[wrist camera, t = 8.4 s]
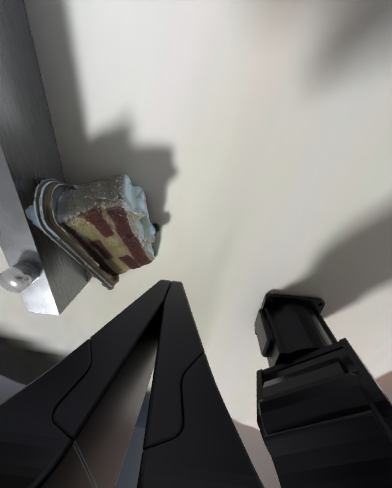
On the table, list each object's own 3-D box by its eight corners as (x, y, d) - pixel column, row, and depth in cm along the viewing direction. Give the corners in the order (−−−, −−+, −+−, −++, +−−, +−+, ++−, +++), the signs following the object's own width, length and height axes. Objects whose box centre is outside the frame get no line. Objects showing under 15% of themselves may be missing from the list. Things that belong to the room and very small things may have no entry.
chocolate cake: (175, 272, 23) (151, 232, 11) (115, 292, 22) (26, 272, 11) (154, 203, 26) (118, 118, 14) (100, 220, 25) (18, 143, 14)
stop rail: (7, -69, 12) (-200, -284, 6) (87, 282, 24) (47, 328, 18) (-42, -71, 12) (-294, -284, 6) (63, 280, 24) (14, 325, 18)
